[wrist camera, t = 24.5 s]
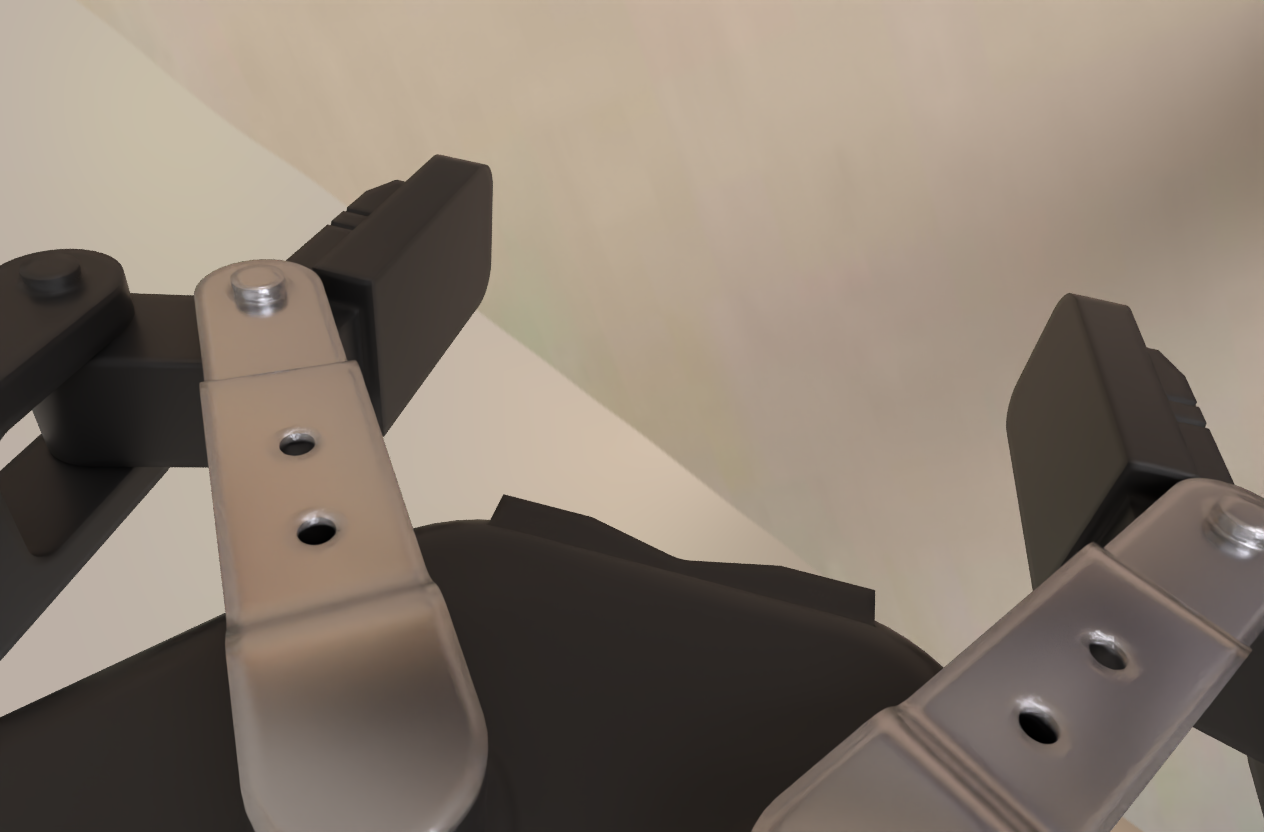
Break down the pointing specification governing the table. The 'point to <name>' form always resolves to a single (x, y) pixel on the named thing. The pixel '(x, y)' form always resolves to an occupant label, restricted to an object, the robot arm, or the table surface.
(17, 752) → the robot arm
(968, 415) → the table surface
